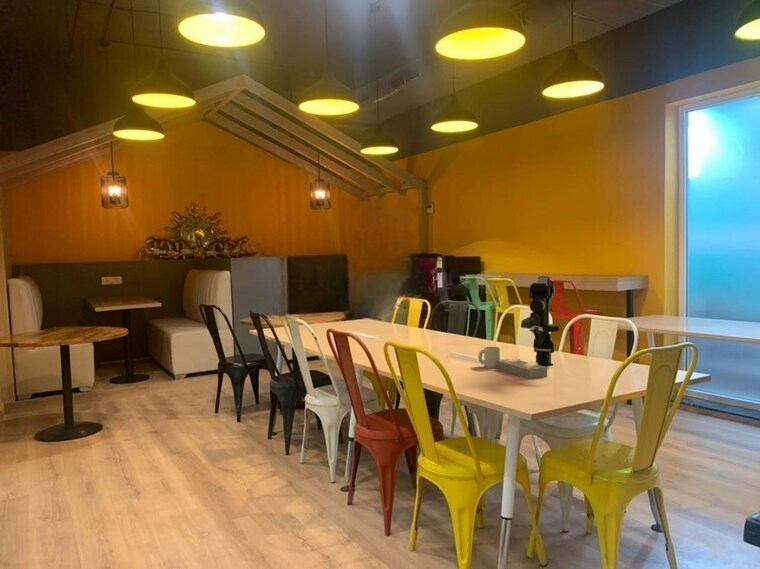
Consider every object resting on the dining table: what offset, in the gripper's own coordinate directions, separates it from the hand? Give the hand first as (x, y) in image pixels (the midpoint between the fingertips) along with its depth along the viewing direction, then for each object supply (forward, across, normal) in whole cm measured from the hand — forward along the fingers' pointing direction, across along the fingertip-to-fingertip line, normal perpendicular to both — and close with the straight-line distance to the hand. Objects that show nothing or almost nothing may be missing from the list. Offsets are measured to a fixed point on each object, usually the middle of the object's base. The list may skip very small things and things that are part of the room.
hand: (539, 345), depth 251 cm
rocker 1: (+8, -9, -8) cm, 14 cm away
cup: (+12, -21, -12) cm, 27 cm away
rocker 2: (+8, +3, -8) cm, 12 cm away
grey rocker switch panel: (+12, -3, -8) cm, 15 cm away
